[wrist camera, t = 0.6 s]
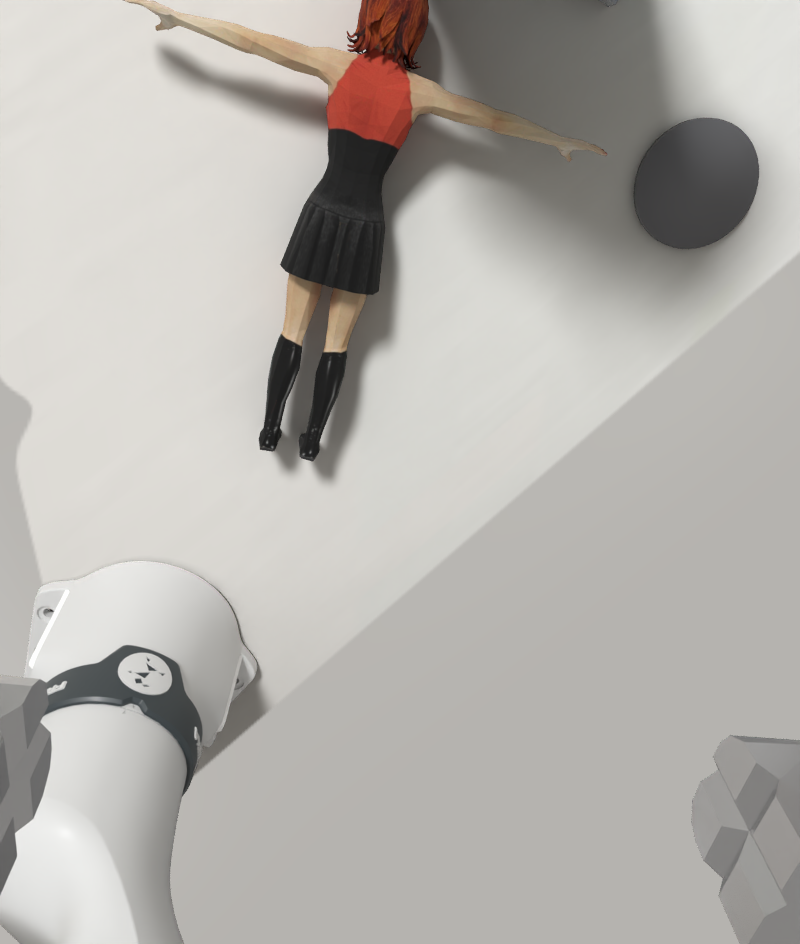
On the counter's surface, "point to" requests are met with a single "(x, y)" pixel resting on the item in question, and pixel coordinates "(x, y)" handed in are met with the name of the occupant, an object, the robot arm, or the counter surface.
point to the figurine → (350, 178)
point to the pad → (696, 183)
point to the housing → (609, 2)
